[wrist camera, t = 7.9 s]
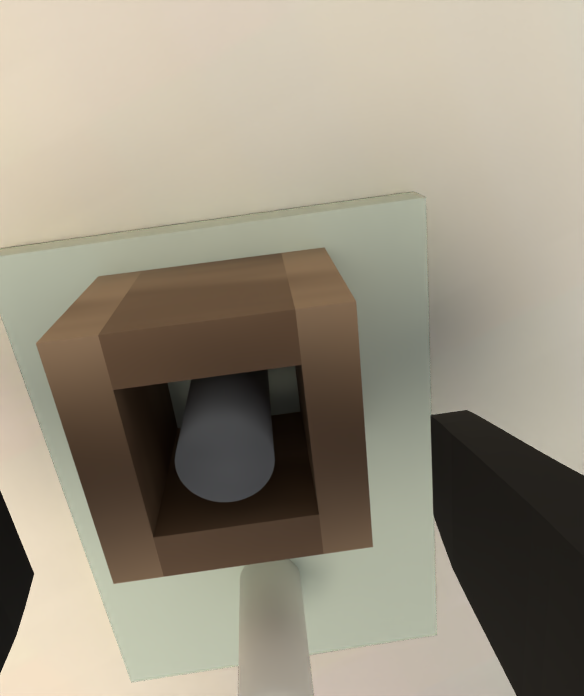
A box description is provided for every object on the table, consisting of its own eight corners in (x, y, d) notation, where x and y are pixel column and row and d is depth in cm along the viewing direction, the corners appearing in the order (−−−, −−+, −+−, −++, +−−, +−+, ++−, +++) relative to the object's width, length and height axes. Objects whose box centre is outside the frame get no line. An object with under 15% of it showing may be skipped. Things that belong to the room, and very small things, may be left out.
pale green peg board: (427, 609, 19) (486, 769, 14) (137, 654, 19) (101, 831, 14) (413, 191, 13) (501, 232, 9) (-1, 248, 13) (-137, 321, 8)
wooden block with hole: (341, 438, 15) (372, 546, 11) (147, 465, 14) (113, 584, 11) (324, 246, 13) (355, 301, 9) (98, 276, 12) (35, 343, 9)
